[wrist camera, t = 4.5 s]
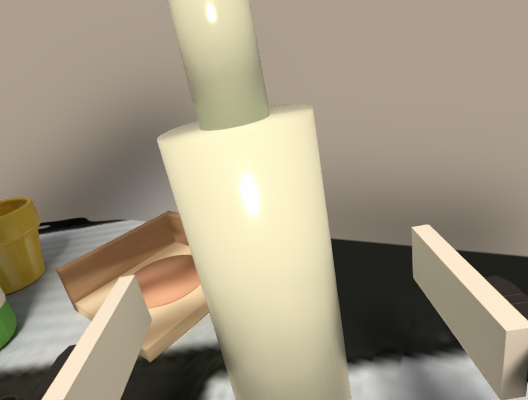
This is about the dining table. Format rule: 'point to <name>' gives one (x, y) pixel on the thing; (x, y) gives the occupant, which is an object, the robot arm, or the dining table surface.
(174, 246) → the dock
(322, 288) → the bottle
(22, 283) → the plant pot
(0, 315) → the wine bottle
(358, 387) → the dining table surface
